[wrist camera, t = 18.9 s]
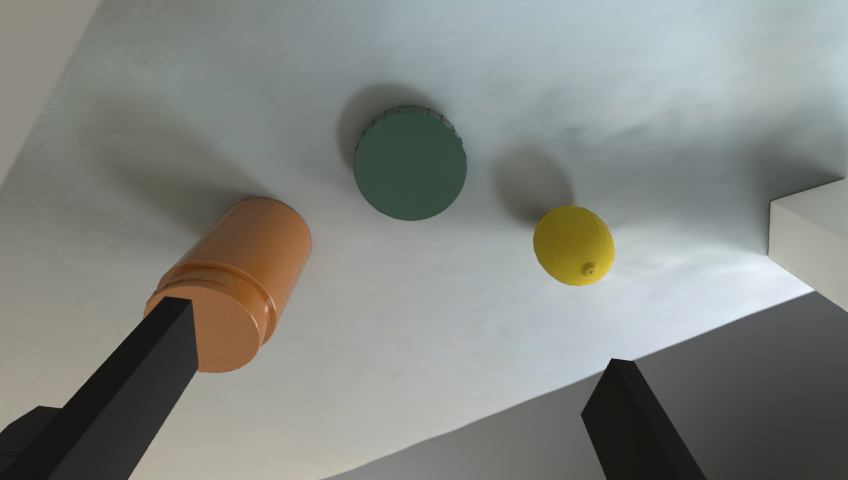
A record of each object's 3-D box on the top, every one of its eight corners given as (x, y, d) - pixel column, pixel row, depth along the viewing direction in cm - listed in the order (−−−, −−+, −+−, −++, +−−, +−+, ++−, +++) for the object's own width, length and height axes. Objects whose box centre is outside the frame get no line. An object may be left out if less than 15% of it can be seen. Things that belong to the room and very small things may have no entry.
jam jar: (219, 190, 33) (126, 270, 23) (314, 205, 34) (267, 290, 23) (223, 268, 37) (144, 369, 26) (309, 281, 37) (266, 384, 27)
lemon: (602, 206, 34) (650, 255, 27) (564, 258, 37) (599, 315, 30) (546, 180, 33) (581, 224, 26) (511, 235, 35) (534, 289, 28)
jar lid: (450, 217, 35) (452, 229, 33) (351, 199, 34) (346, 210, 32) (476, 118, 31) (480, 125, 29) (365, 94, 30) (361, 100, 28)
